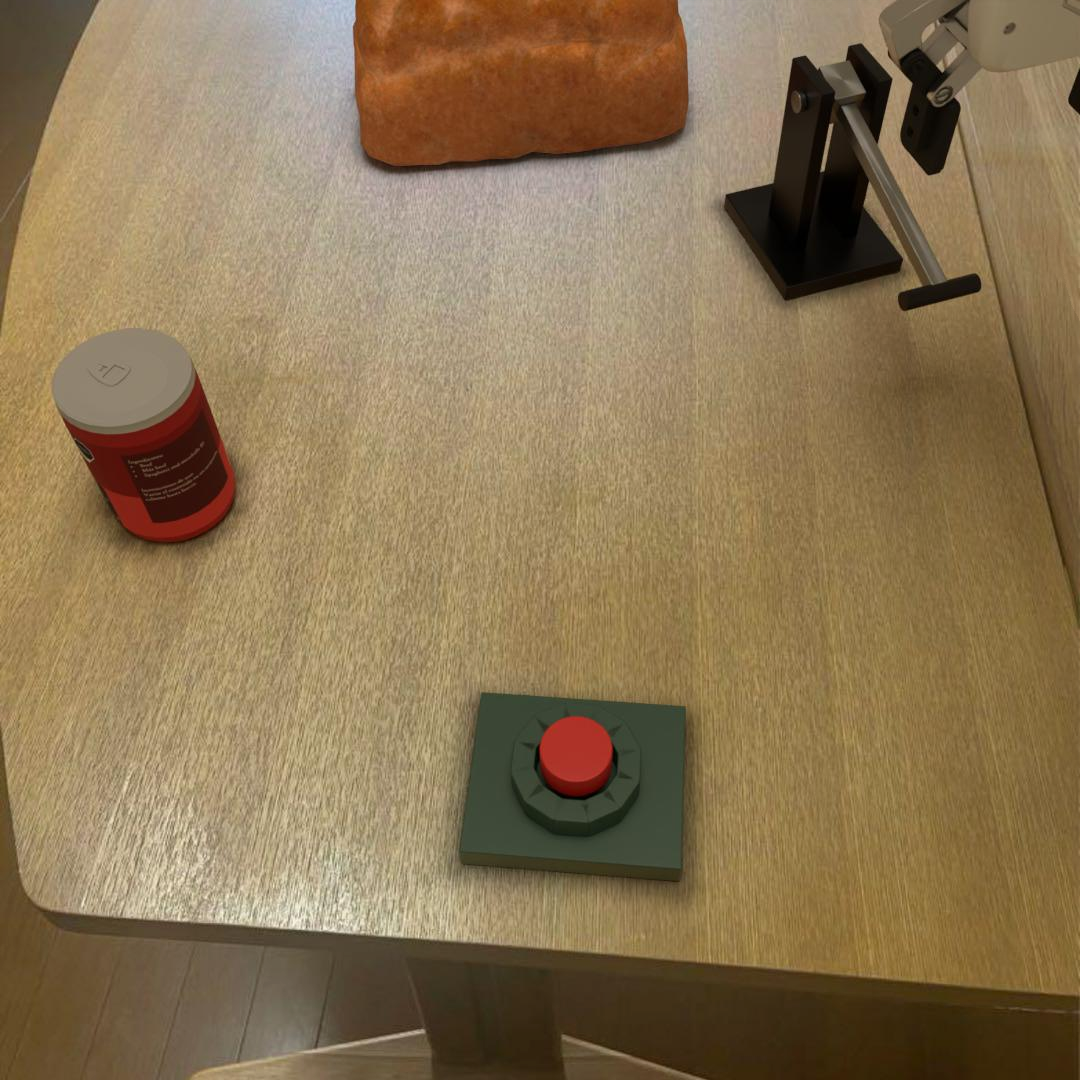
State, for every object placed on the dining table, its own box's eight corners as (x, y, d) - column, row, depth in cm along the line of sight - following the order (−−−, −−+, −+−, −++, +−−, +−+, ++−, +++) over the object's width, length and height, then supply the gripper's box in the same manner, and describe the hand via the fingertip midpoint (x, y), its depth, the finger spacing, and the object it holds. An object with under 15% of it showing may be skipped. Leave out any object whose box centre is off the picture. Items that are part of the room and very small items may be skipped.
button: (614, 734, 61) (614, 718, 59) (609, 799, 59) (610, 784, 57) (543, 729, 61) (542, 713, 60) (537, 794, 59) (536, 779, 58)
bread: (359, 80, 101) (327, -106, 89) (666, 52, 103) (677, -136, 90) (363, 182, 93) (329, -8, 81) (696, 150, 94) (713, -42, 82)
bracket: (900, 271, 85) (947, 100, 74) (785, 300, 84) (815, 130, 73) (831, 181, 92) (866, 10, 80) (723, 206, 90) (743, 37, 79)
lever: (972, 301, 74) (988, 279, 72) (899, 320, 73) (913, 298, 71) (858, 82, 80) (869, 55, 78) (789, 97, 79) (799, 71, 77)
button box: (683, 720, 65) (688, 689, 62) (679, 881, 59) (684, 855, 57) (483, 706, 66) (478, 675, 63) (461, 864, 60) (455, 837, 57)
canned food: (141, 443, 78) (84, 318, 69) (256, 460, 77) (213, 335, 68) (92, 536, 73) (24, 415, 64) (213, 555, 72) (161, 435, 63)
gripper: (985, -155, 43) (887, 221, 57) (1382, -233, 46) (1196, 144, 60) (888, -238, 48) (818, 132, 61) (1257, -304, 50) (1110, 64, 64)
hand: (1005, 138), depth 61 cm, fingers open, 9 cm apart
